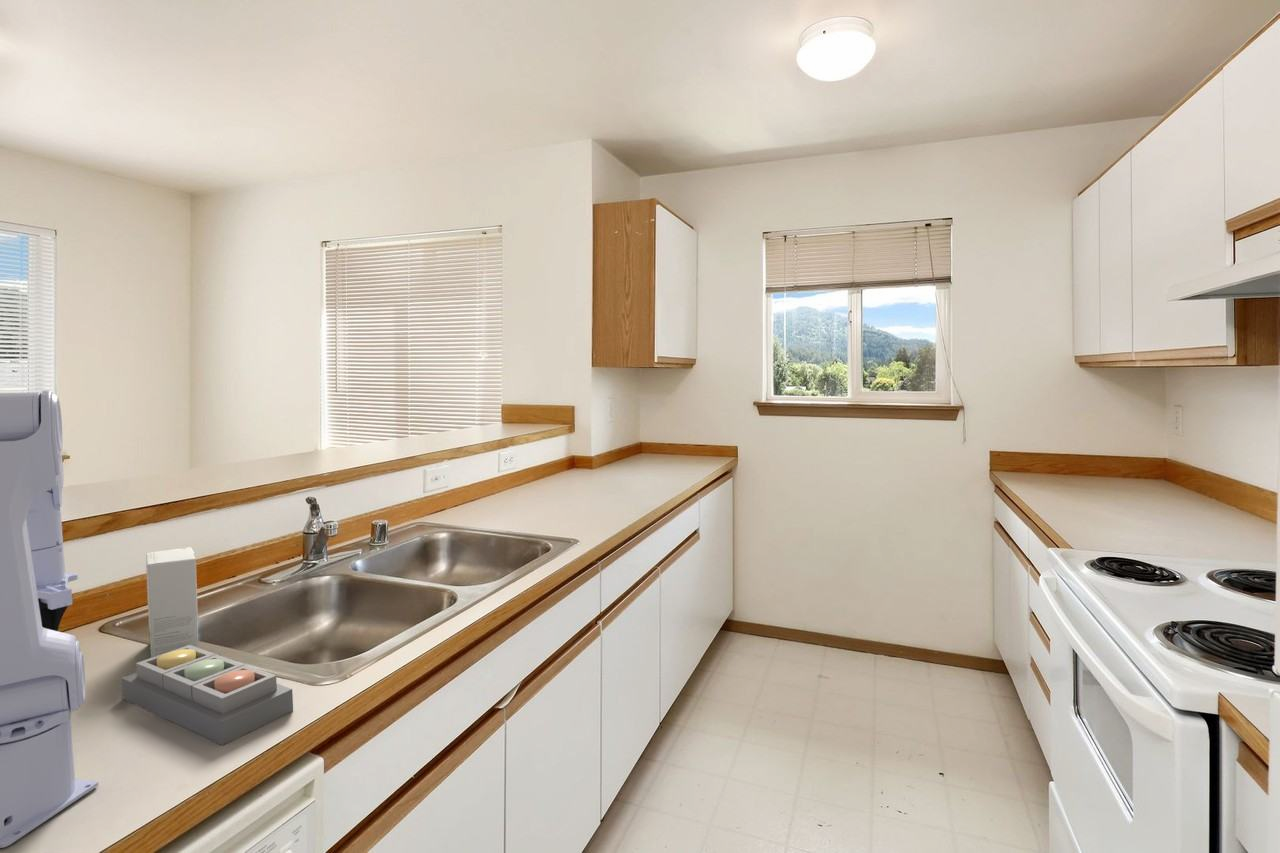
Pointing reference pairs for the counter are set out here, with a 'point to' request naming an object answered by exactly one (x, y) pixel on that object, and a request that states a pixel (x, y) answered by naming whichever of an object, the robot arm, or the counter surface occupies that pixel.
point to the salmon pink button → (233, 680)
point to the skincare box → (172, 600)
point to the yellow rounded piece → (175, 658)
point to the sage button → (203, 669)
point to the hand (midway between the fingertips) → (39, 655)
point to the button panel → (207, 697)
